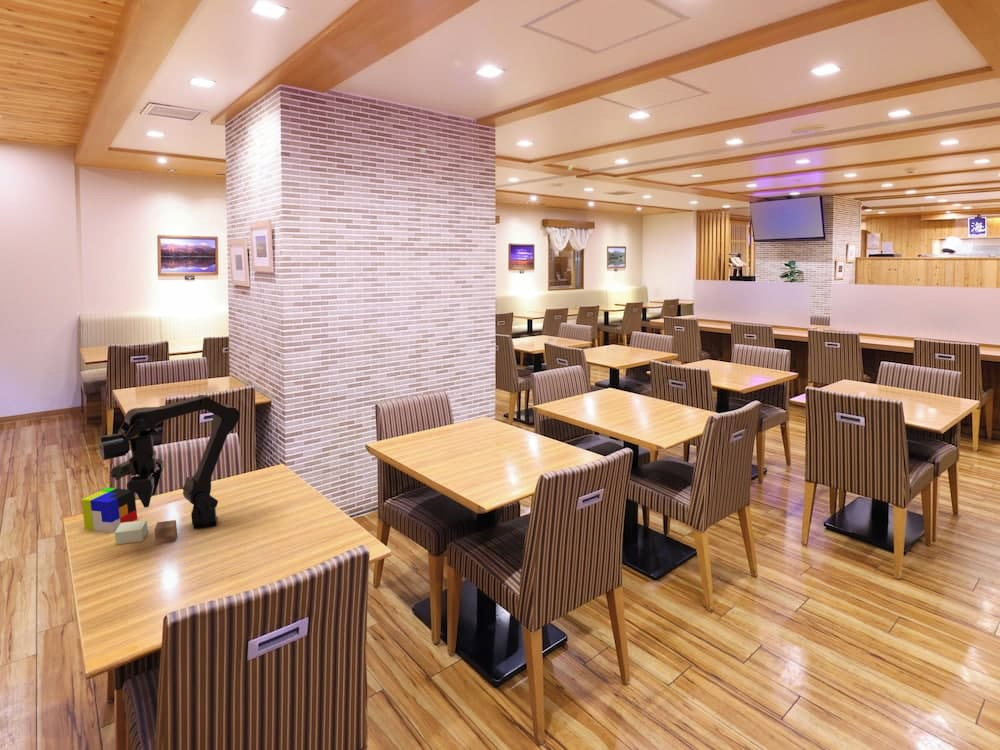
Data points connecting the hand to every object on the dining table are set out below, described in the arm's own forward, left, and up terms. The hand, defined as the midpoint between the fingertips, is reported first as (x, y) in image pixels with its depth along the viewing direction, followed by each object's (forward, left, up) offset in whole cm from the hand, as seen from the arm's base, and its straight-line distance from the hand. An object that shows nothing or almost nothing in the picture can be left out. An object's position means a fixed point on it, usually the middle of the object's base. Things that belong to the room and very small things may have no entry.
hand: (149, 501), depth 182 cm
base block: (+6, -3, -13) cm, 14 cm away
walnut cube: (-4, +2, -12) cm, 13 cm away
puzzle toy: (+14, -16, -13) cm, 25 cm away
